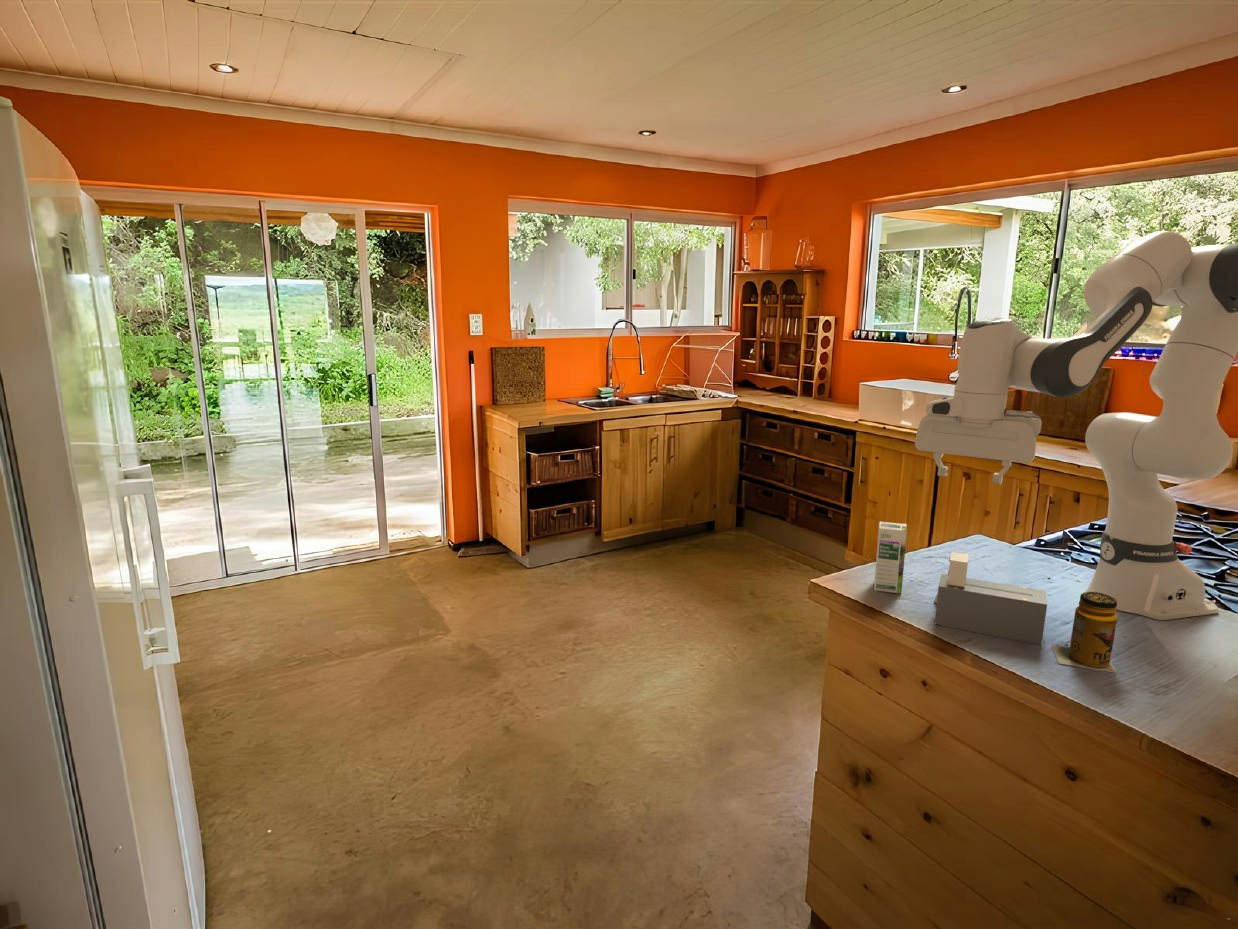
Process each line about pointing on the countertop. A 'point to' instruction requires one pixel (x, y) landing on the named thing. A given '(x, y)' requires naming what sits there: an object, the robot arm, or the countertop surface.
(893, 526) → the syrup box
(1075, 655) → the condiment
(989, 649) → the countertop surface
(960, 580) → the fader
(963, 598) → the console
